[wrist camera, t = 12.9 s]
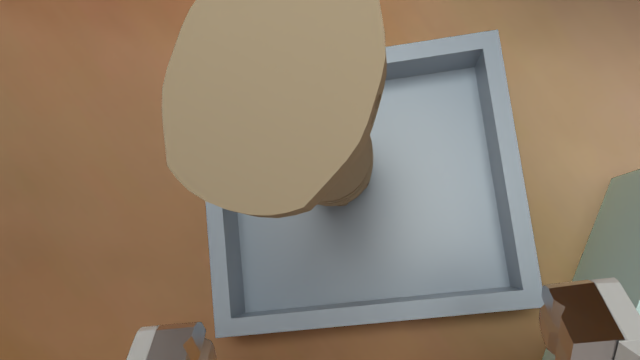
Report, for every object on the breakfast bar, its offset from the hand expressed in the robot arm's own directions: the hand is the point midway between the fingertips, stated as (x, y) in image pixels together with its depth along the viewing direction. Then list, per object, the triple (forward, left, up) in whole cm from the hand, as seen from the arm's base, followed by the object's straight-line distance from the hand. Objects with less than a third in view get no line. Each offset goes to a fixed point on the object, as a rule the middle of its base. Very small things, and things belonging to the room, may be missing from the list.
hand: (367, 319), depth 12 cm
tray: (0, +5, -14) cm, 14 cm away
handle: (-1, +6, -13) cm, 14 cm away
